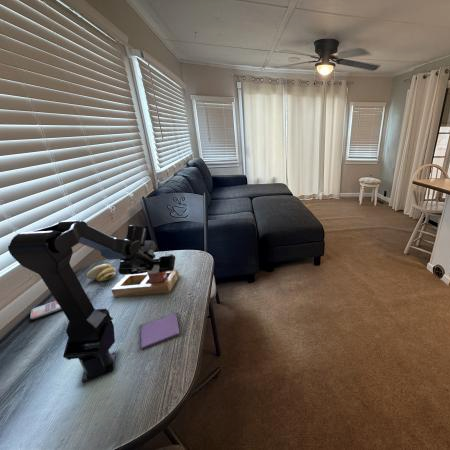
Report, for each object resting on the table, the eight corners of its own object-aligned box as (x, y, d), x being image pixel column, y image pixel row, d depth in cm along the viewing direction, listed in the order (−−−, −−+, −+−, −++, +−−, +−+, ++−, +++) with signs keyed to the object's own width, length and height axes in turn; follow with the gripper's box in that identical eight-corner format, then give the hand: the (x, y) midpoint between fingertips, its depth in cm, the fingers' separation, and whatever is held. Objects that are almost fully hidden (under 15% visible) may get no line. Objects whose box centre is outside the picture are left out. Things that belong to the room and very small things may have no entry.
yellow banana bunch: (109, 256, 111) (113, 266, 100) (116, 266, 114) (120, 278, 103) (83, 266, 106) (84, 278, 95) (90, 277, 108) (92, 290, 97)
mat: (179, 334, 74) (179, 332, 74) (141, 348, 69) (141, 347, 69) (175, 315, 82) (175, 313, 82) (141, 327, 77) (141, 325, 77)
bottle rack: (169, 292, 94) (167, 284, 93) (113, 297, 92) (111, 289, 91) (179, 276, 104) (177, 269, 103) (129, 280, 102) (127, 273, 101)
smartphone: (30, 308, 85) (85, 290, 95) (32, 311, 85) (86, 292, 95) (29, 318, 80) (87, 298, 90) (30, 321, 80) (88, 300, 90)
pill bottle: (169, 286, 98) (163, 262, 94) (152, 291, 94) (145, 267, 91) (167, 279, 102) (161, 256, 99) (151, 284, 99) (144, 260, 95)
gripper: (167, 235, 88) (183, 249, 102) (113, 239, 86) (137, 252, 100) (163, 265, 83) (181, 275, 97) (106, 269, 81) (132, 279, 95)
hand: (158, 269), depth 97 cm, fingers closed on pill bottle, 6 cm apart
